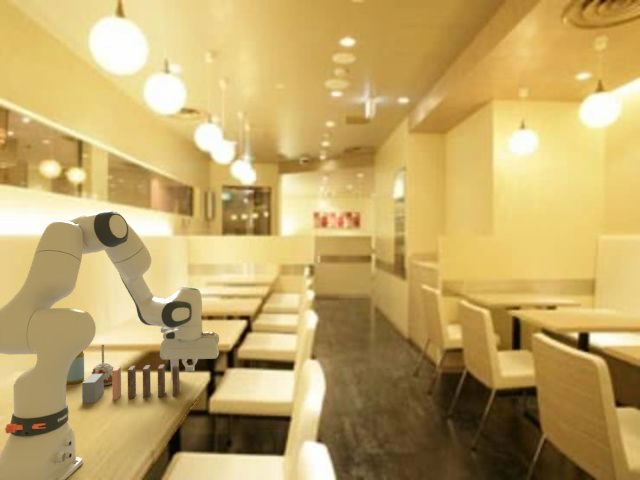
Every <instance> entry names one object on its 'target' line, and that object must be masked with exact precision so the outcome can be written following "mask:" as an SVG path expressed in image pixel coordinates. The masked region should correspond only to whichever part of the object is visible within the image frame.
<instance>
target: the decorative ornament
mask: <svg viewBox="0 0 640 480" xmlns="http://www.w3.org/2000/svg"><path fill="white" fill-rule="evenodd" d="M113 369H114V366H113V365H111V364H110V363H108V362H105V344H101V363H98V364H97V365H95V366H94V367H93V368H92V371H91V374H103V379H104V386H109V385H112V370H113Z"/></svg>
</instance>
